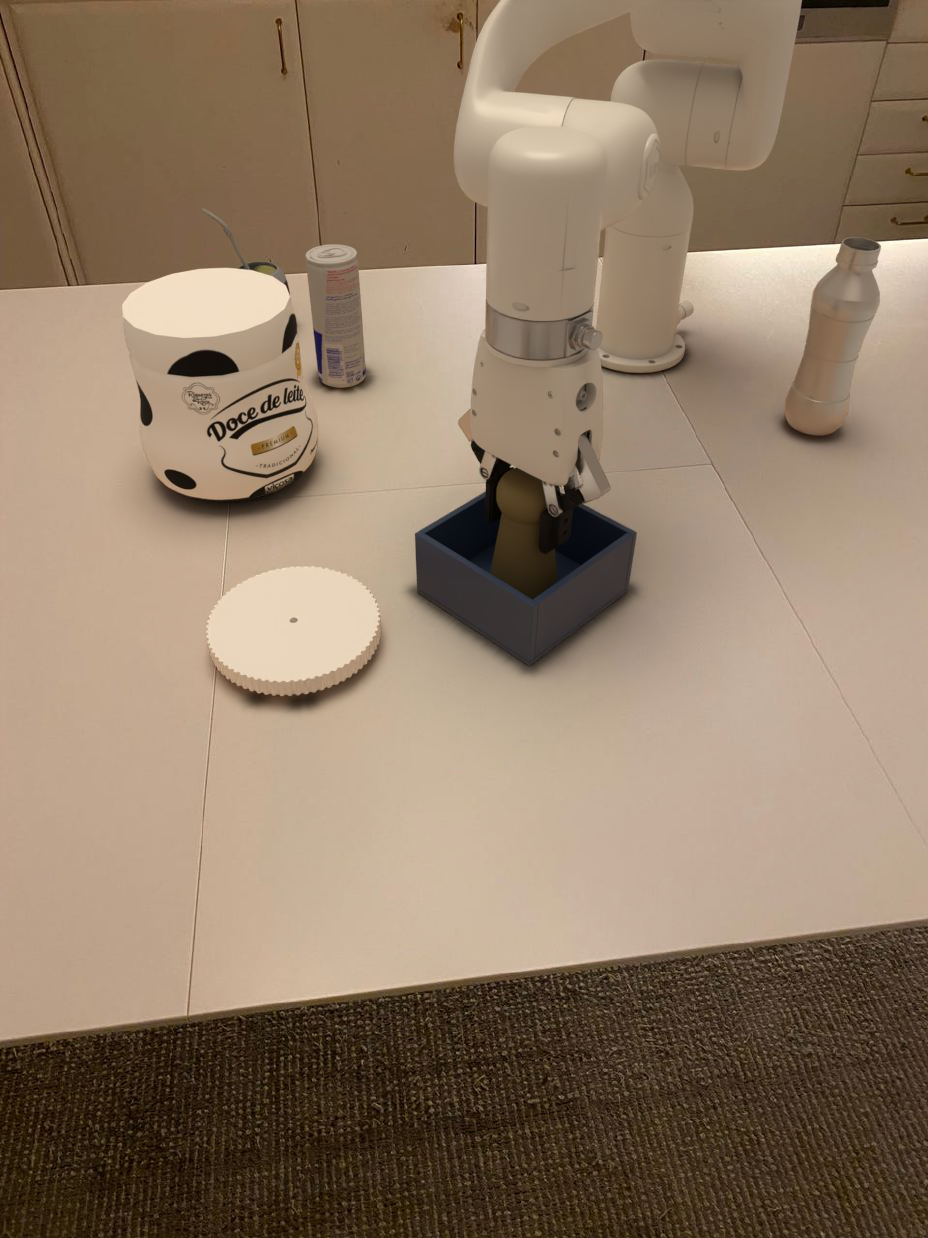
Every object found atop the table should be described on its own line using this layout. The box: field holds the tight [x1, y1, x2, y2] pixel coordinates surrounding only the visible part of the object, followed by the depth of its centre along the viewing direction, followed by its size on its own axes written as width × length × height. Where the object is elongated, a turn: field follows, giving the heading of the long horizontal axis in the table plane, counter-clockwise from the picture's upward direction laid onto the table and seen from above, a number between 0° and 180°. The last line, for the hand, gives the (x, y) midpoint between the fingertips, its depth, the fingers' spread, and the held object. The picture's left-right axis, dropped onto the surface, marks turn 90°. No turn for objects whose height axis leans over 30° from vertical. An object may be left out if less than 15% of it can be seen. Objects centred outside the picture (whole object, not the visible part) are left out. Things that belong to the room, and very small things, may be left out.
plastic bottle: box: [783, 236, 882, 437], centre depth 98 cm, size 6×7×20 cm
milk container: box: [121, 267, 319, 503], centre depth 92 cm, size 17×17×18 cm
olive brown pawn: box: [490, 467, 561, 600], centre depth 80 cm, size 6×6×11 cm
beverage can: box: [305, 243, 367, 389], centre depth 107 cm, size 6×6×15 cm
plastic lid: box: [205, 565, 382, 697], centre depth 78 cm, size 14×14×2 cm
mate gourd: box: [201, 207, 291, 296], centre depth 117 cm, size 8×8×15 cm
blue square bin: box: [414, 490, 638, 667], centre depth 82 cm, size 13×13×6 cm
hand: (526, 528), depth 79 cm, fingers closed on olive brown pawn, 5 cm apart
